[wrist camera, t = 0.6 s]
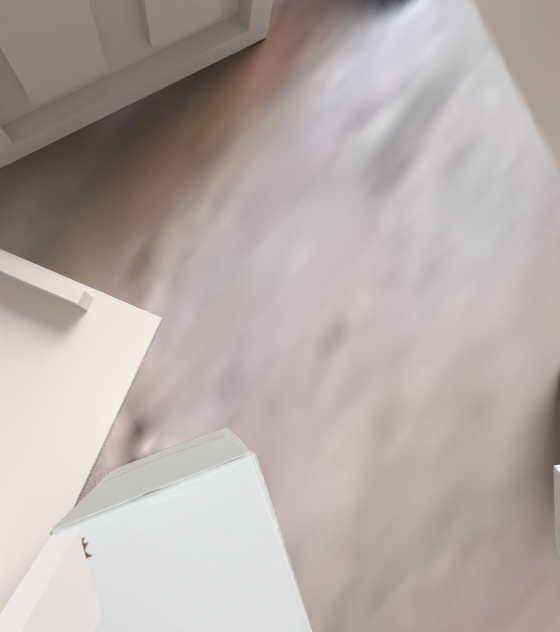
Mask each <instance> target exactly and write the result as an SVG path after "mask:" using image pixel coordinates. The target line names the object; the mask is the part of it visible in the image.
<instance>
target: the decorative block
mask: <svg viewBox="0 0 560 632" xmlns="http://www.w3.org/2000/svg"><path fill="white" fill-rule="evenodd" d="M272 5H273V0H0V168H2V167H4V166H6V165H8V164H10V163H12V162H14V161H16V160H18V159H20V158H22V157H24V156H26V155H28V154H30V153H32V152H35V151H37V150H39V149H41V148H43V147H45V146H47V145H49V144H51V143H53V142H55V141H57V140H59V139H61V138H63V137H65V136H67V135H69V134H71V133H73V132H75V131H77V130H79V129H81V128H83V127H85V126H87V125H89V124H91V123H93V122H96V121H98V120H100V119H102V118H104V117H106V116H108V115H110V114H112V113H114V112H116V111H118V110H120V109H122V108H124V107H126V106H128V105H130V104H132V103H134V102H136V101H138V100H140V99H142V98H144V97H146V96H148V95H150V94H152V93H155V92H157V91H159V90H161V89H163V88H165V87H167V86H169V85H171V84H173V83H175V82H177V81H179V80H181V79H183V78H185V77H187V76H189V75H191V74H193V73H195V72H197V71H199V70H201V69H203V68H205V67H207V66H209V65H211V64H213V63H216V62H218V61H220V60H222V59H224V58H226V57H228V56H230V55H232V54H234V53H236V52H238V51H240V50H242V49H244V48H246V47H248V46H250V45H252V44H254V43H256V42H258V41H260V40H262V39H264V38H266V36H267V31H268V26H269V21H270V15H271V10H272Z"/></svg>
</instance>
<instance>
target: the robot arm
mask: <svg viewBox="0 0 560 632" xmlns="http://www.w3.org/2000/svg"><path fill="white" fill-rule="evenodd" d="M553 470H554V511H555V552H556V554H557V555H558V556H559V558H560V465H555V466H553ZM101 613H102V612H101V609H100V605H99V601H98V598H97V594H96V591H95V587H94V584H93V580H92V577H91V573H90V570H89V566H88V563H87V559H86V556H85V552H84V549H83V545H82V541H81V538H80V534H79V531H77V532H69V533H62V534H55V535H51V537H50V538H49V540H48V541H47V543H46V544H45V546H44V548H43V549H42V551H41V552H40V554H39V555H38V557H37V558H36V560H35V561H34V563H33V564H32V566H31V568H30V569H29V571H28V572H27V574H26V575H25V577H24V578H23V580H22V581H21V583H20V584H19V586H18V587H17V589H16V591H15V592H14V594H13V595H12V597H11V598H10V600H9V601H8V603H7V604H6V606H5V607H4V609H3V611H2V612H1V614H0V632H94V630H95V628H96V625H97V623H98V621H99V618H100V616H101Z"/></svg>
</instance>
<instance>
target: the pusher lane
mask: <svg viewBox="0 0 560 632" xmlns="http://www.w3.org/2000/svg"><path fill="white" fill-rule="evenodd" d="M161 322H162V318H160V317H158V316H156V315H153V314H151V313H149V312H146V311H144V310H142V309H139V308H137V307H135V306H132V305H130V304H128V303H125V302H123V301H121V300H118V299H116V298H114V297H111V296H109V295H107V294H104V293H102V292H100V291H97V290H95V289H93V288H90V287H88V286H86V285H83V284H81V283H79V282H76V281H74V280H72V279H69V278H67V277H65V276H62V275H60V274H58V273H55V272H53V271H51V270H48V269H46V268H44V267H41V266H39V265H37V264H34V263H32V262H30V261H27V260H25V259H23V258H20V257H18V256H16V255H13V254H11V253H9V252H6V251H4V250H2V249H0V614H1V612H2V611H3V609H4V607H5V606H6V604H7V603H8V601H9V600H10V598H11V597H12V595H13V594H14V592H15V591H16V589H17V587H18V586H19V584H20V583H21V581H22V580H23V578H24V577H25V575H26V574H27V572H28V571H29V569H30V568H31V566H32V564H33V563H34V561H35V560H36V558H37V557H38V555H39V554H40V552H41V551H42V549H43V548H44V546H45V544H46V543H47V541H48V540H49V538H50V537H51V535H50V532H51V530H52V529H53V528H54V527H55V526H56V525H57V524H58V523H59V522H60V521H61V520H62V519H63V518H64V517H65V516H66V515H67V514H68V513H69V512H70V511H71V510H72V509H73V508H74V507H75V506H76V504H77V502H78V500H79V497H80V495H81V493H82V491H83V489H84V487H85V485H86V482H87V480H88V478H89V476H90V474H91V472H92V470H93V467H94V465H95V463H96V461H97V459H98V457H99V455H100V452H101V450H102V448H103V446H104V444H105V442H106V440H107V437H108V435H109V433H110V431H111V429H112V427H113V425H114V422H115V420H116V418H117V416H118V414H119V412H120V410H121V407H122V405H123V403H124V401H125V399H126V397H127V395H128V392H129V390H130V388H131V386H132V384H133V382H134V380H135V377H136V375H137V373H138V371H139V369H140V367H141V365H142V362H143V360H144V358H145V356H146V354H147V352H148V350H149V347H150V345H151V343H152V341H153V339H154V337H155V334H156V332H157V330H158V328H159V326H160V324H161Z"/></svg>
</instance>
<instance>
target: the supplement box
mask: <svg viewBox="0 0 560 632" xmlns="http://www.w3.org/2000/svg"><path fill="white" fill-rule="evenodd" d="M77 531H79V534H80V538H81V541H82V545H83V549H84V552H85V556H86V559H87V563H88V566H89V570H90V573H91V577H92V580H93V584H94V587H95V591H96V594H97V598H98V601H99V605H100V609H101V612H102V613H101V616H100V618H99V621H98V623H97V625H96V628H95V630H94V632H313V631H312V628H311V625H310V622H309V619H308V616H307V612H306V609H305V606H304V603H303V600H302V597H301V594H300V591H299V587H298V584H297V581H296V578H295V575H294V572H293V569H292V565H291V562H290V559H289V556H288V553H287V550H286V547H285V543H284V540H283V537H282V534H281V531H280V528H279V525H278V521H277V518H276V515H275V512H274V509H273V506H272V503H271V500H270V496H269V493H268V490H267V487H266V484H265V481H264V478H263V475H262V472H261V469H260V466H259V462H258V459H257V456H256V454H255V453H253V452H252V451H250V450H249V449H248V448H247V447H246V446H245V445H244V444H243V443H242V442H241V441H240V440H239V439H238V438H237V436H236V435H235V434H234V433H233V432H231V431H230V430H229V429H228V428H227V427H226V428H223V429H220V430H217V431H214V432H211V433H208V434H205V435H203V436H200V437H197V438H195V439H192V440H189V441H186V442H184V443H181V444H178V445H175V446H173V447H170V448H167V449H165V450H162V451H160V452H157V453H155V454H152V455H150V456H147V457H144V458H142V459H139V460H137V461H134V462H132V463H129V464H126V465H124V466H121V467H119V468H116V469H114V470H111V471H110V473H109V474H108V475H107V476H105V477H104V478H103V480H102V481H101V482H100V483H99V484H97V485H96V486H95V488H94V489H92V490H91V491H90V492H89V493H88V494H87V495H86V496H85V497H84V498H83V499H82V500H81V501H80V502H79V503H78V504H77V505H76V506H75V507H74V508H73V509H72V510H71V511H70V512H69V513H68V514H67V515H66V516H65V517H64V518H63V519H62V520H61V521H60V522H59V523H58V524H57V525H56V526H55V527H54V528H53V529H52V530H51V532H50V535H55V534H62V533H69V532H77Z"/></svg>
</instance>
